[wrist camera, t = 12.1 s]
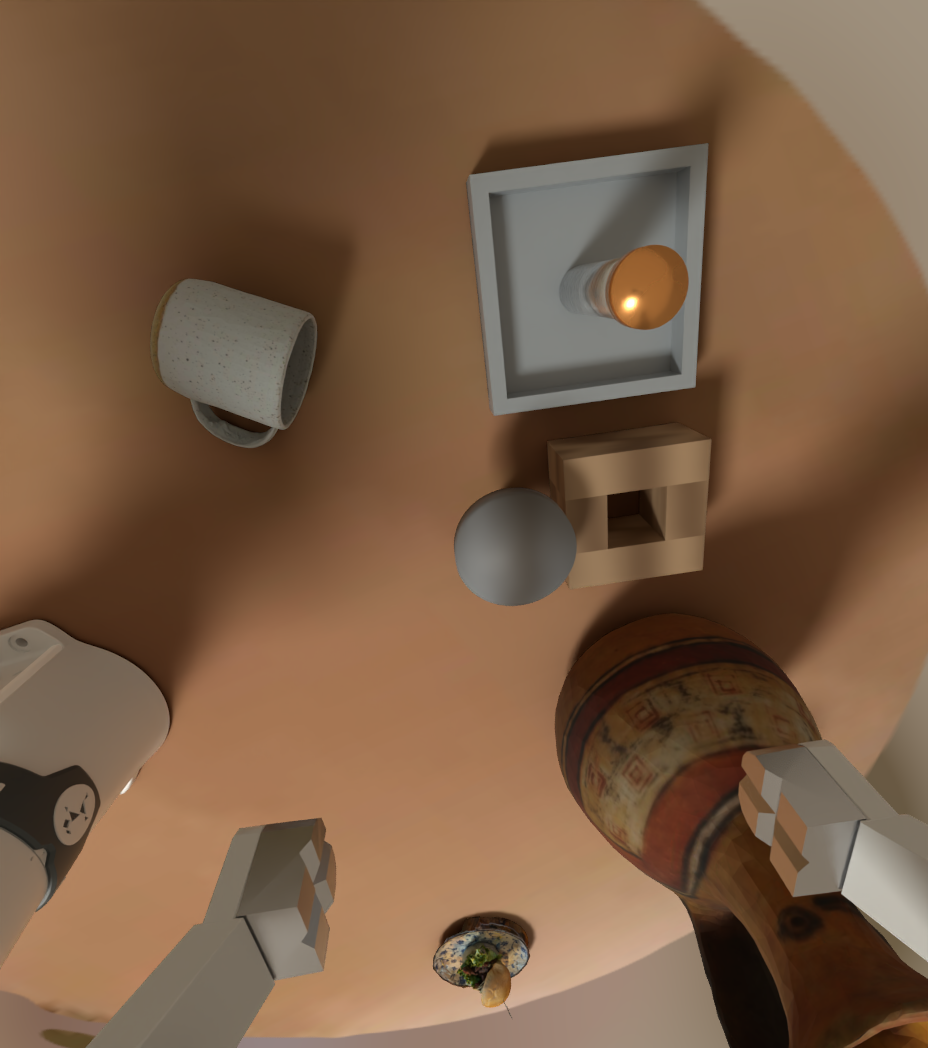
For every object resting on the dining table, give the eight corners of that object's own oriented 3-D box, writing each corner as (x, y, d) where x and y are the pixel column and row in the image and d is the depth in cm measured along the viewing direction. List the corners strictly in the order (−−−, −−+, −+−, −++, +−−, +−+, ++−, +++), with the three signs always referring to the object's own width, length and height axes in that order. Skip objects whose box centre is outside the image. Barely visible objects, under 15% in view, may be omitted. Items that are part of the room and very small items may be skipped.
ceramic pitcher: (768, 587, 46) (1269, 1011, 19) (727, 756, 54) (1037, 1224, 27) (548, 600, 45) (743, 1071, 18) (539, 771, 53) (665, 1276, 26)
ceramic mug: (200, 271, 33) (143, 269, 27) (324, 311, 35) (300, 318, 28) (184, 424, 37) (131, 455, 31) (296, 454, 39) (269, 490, 32)
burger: (453, 906, 61) (457, 982, 55) (543, 922, 64) (558, 997, 57) (417, 965, 66) (417, 1043, 59) (504, 978, 68) (513, 1054, 61)
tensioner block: (458, 572, 43) (465, 625, 36) (441, 456, 39) (445, 491, 32) (673, 541, 44) (720, 587, 37) (678, 422, 40) (732, 449, 33)
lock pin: (556, 322, 36) (612, 334, 25) (553, 263, 34) (611, 250, 24) (608, 315, 36) (686, 324, 25) (607, 256, 34) (690, 239, 24)
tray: (489, 408, 38) (494, 415, 36) (466, 182, 33) (469, 174, 30) (679, 381, 38) (695, 387, 36) (689, 153, 33) (708, 143, 31)
